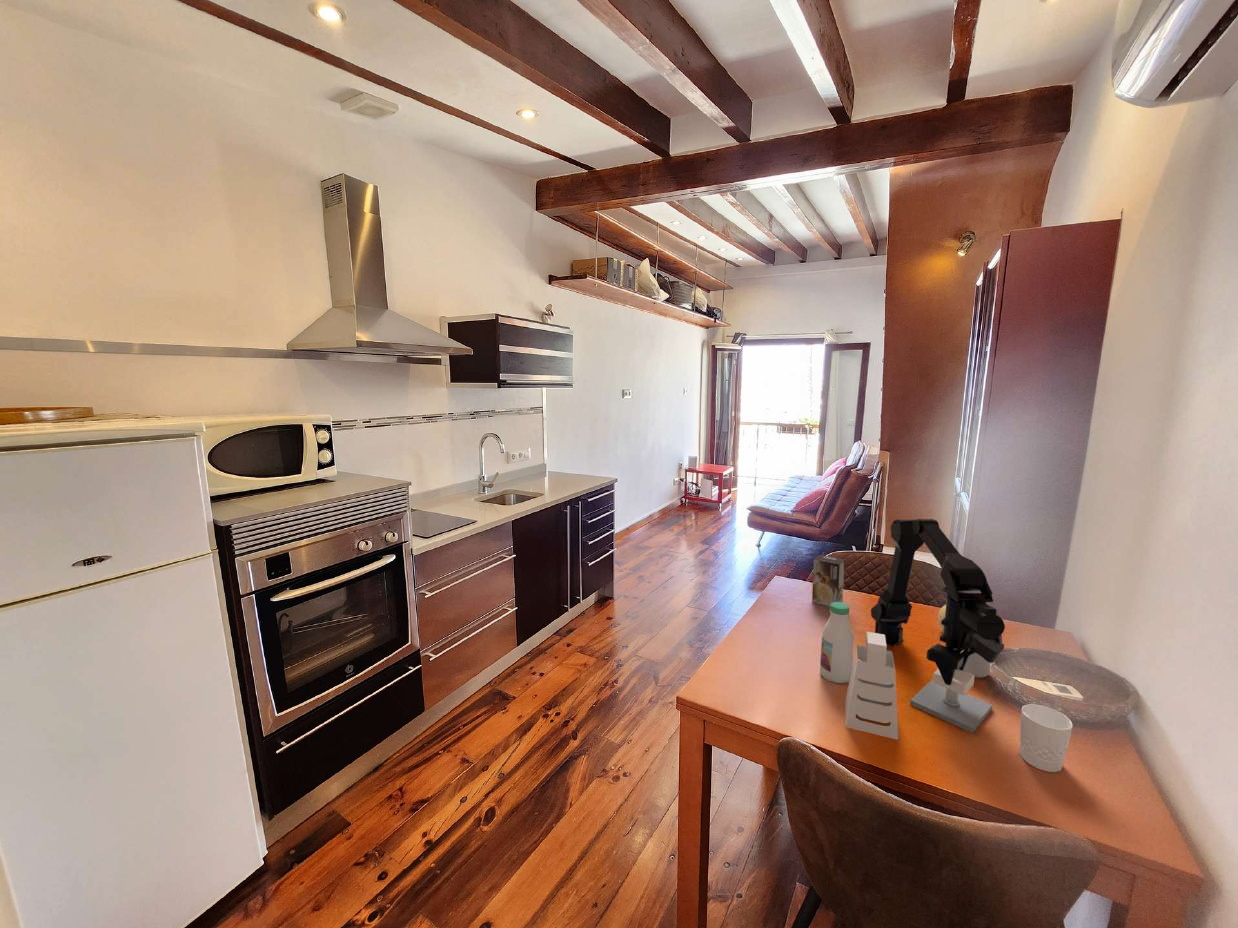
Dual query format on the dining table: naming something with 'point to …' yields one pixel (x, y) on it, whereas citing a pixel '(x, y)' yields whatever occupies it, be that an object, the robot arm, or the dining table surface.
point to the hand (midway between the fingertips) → (953, 678)
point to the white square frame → (956, 681)
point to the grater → (873, 688)
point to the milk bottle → (837, 645)
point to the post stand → (952, 706)
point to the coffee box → (827, 580)
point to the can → (977, 666)
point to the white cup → (1044, 737)
